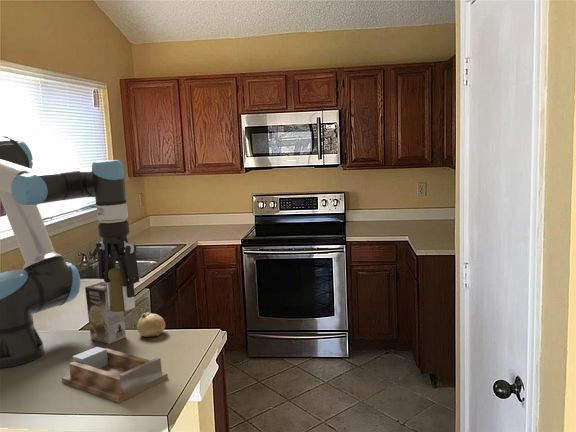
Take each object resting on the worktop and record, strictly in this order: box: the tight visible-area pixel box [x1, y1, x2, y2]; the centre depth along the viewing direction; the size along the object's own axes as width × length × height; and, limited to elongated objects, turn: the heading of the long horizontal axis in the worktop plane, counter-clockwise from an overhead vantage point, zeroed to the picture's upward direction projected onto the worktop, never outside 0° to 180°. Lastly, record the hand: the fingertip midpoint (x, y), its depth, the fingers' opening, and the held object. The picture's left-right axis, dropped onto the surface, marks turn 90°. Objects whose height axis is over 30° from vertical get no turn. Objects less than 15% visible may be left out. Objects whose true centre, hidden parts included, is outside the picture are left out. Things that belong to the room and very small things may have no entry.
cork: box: [108, 266, 127, 312], centre depth 143 cm, size 6×6×11 cm
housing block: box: [72, 346, 108, 369], centre depth 136 cm, size 4×7×4 cm, turn 144°
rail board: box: [61, 347, 169, 404], centre depth 131 cm, size 22×14×6 cm, turn 54°
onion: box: [136, 311, 166, 338], centre depth 162 cm, size 8×8×7 cm
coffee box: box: [84, 281, 127, 344], centre depth 160 cm, size 9×6×16 cm
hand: (121, 307), depth 144 cm, fingers closed on cork, 6 cm apart
